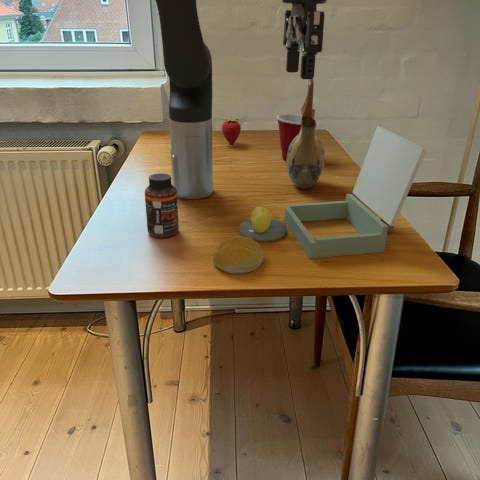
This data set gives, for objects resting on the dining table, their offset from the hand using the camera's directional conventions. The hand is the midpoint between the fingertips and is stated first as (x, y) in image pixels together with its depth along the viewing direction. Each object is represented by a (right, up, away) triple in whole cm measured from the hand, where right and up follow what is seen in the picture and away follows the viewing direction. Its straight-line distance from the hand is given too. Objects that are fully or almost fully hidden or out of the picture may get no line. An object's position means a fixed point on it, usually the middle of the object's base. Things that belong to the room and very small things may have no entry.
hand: (299, 75), depth 82 cm
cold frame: (+7, -29, +6) cm, 30 cm away
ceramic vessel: (+5, -16, +30) cm, 35 cm away
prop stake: (+18, -28, +8) cm, 34 cm away
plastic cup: (+5, -7, +49) cm, 50 cm away
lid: (+16, -17, +2) cm, 23 cm away
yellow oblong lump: (-6, -27, +7) cm, 29 cm away
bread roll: (-11, -34, -3) cm, 35 cm away
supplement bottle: (-25, -28, +7) cm, 38 cm away
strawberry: (-13, 0, +61) cm, 63 cm away
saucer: (-6, -28, +7) cm, 29 cm away
